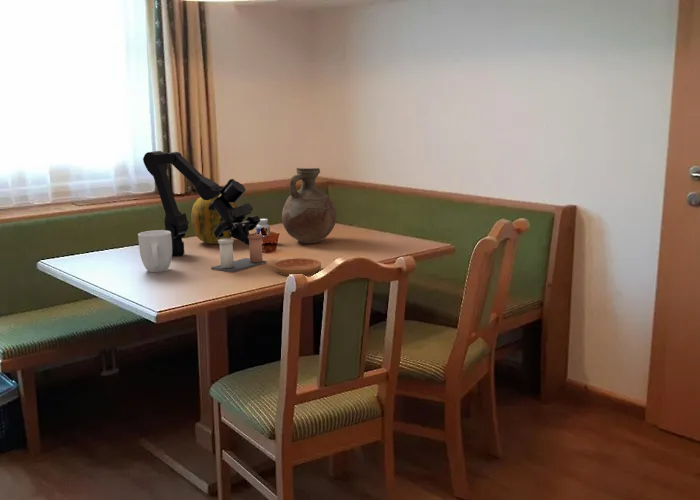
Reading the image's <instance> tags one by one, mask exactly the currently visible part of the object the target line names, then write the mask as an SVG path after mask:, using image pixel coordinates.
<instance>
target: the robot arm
mask: <svg viewBox="0 0 700 500" xmlns="http://www.w3.org/2000/svg"><path fill="white" fill-rule="evenodd" d="M142 161H143V164H144V167H145V168H146V170H147V173H148V172H149V174H150V175H151V176H152V177H153V179H154V182H155V186H156V190H157V192H158V195H159V198H160V201H161V204H162V209H163V210H164V214H165V215H164V221H163V223H164V228H165V229H164V230H166V231H170V232H171V238H172V257H183V256H184V254H185V242H184V241H183V238H185V237H186V232H187V231H188V229H189V224H190V221H188V218H187V214H186V213H185V212H184V213H182V212H181V211H180V209H178V205H177V201H176V198H175V196H174V193H173V189H172V185H171V183H170V180H169V177H168V174H167V172H168V164H170V165H172V166H173V167H174V168H175V169H176V170H177V171H178V172H179V173H181V174H182V175H183V176H184V177H185V178H186V179H187V180H188V182H190V183H191V184H192V185H193V187H194V189H195V192H196V193H197V195H198V196H199V198H200V197H201V198H202V199H203V200H211V199H214V198H216V199H215V200H214V201H213V202H210V203H209V208H208V209H209V210H216V211H217V212H218V214H219V215H220V217H221V218H220V221H221V222H222V221H224V222H222V223H219V225H218V226H217V228H216V229H215V230H214V235H215V236H216V237H217V238H221V237H223V235H224V234H223V232H226V231H230V233H231V234H230V235H229V237H231V238H232V239H235V240H236V241H237V240H238V241H239V242H241V243H243V244H245V245H247V246H249V239H248V235H249V234H250V231H253V230H255V229H256V226H257V225H258V223H259V222H260V219H261V218H260V217H259V216H258V215H251V213H252V211H253V206H252V205H251V203H249V202H247V203H244V204H243V205H239V206H237V207H236V208H234V207H233V206H232V205H231V202H233V203H237V201H238V200H239V199H240V198H241V197H242V196H243V195H244V193H246V188H245V186H244V185H243V184H242V183H240V182H238V181H237V180H235V179H234V178H230V179H229V180H227V183H226V184H225V186H220V185H219V184H218V183H217V182H215V181H214V180H212V179H210V178H208V177H206V176H204V175H203V174H202V173H201V172H200V171H199V170H198V169H196V168H195V167H194V165H192V164H191V163H190V162H189V161H188V160H187V159H186V158H185V157H183V155H182V153H181V152H179V151H173V152H164V151H162V150H154V151H148V152H146V153H145V154H144V156H143V157H142ZM219 195H221V196H220V197H218V196H219ZM247 215H250V216H248V217H247V218H246V216H247Z"/></svg>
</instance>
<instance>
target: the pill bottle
mask: <svg viewBox="0 0 700 500" xmlns="http://www.w3.org/2000/svg"><path fill="white" fill-rule="evenodd" d="M259 219H260V222H259V223H258V224H257V225H256V227H255V229H256V233H255V234H257V233H260V231H261V228H263V227H265V228H267V230H268V231H269V232H270V233H271V230H270V229H271V226H270V225H269V224H268V223H269V221H268V218H259Z"/></svg>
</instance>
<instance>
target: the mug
mask: <svg viewBox="0 0 700 500" xmlns="http://www.w3.org/2000/svg"><path fill="white" fill-rule="evenodd" d="M137 237H138V238H137V239H138V249H139V254H140V258H141V261H142V264H143V266H144V268H145V269H146V270H147V272H149V273H161V272H166V271H167V270H168V269H169V267H170V265H171V262H172V257H173V256H172V238H171V232H170V231H166V230H165V229H160V230H159V229H157V230H155V229H154V230H146V231H141V232H139V233H137Z"/></svg>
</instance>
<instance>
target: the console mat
mask: <svg viewBox="0 0 700 500" xmlns="http://www.w3.org/2000/svg"><path fill="white" fill-rule="evenodd" d="M233 261H234V267H231V268H221V264H218V265H215V266H210V268H211V270H215V271H220V272H225V273H226V272H227V273H231V272H233V273H235V271H236V272H239V271H238V270H240V271H243V270H245V269H249V267H250V268H253V267H257V266H260V265H263V264H266V263H267V261H266V260H263V261H262V262H250V257H244V258H241V259H237V260H233ZM265 262H266V263H265ZM262 263H263V264H262ZM256 265H257V266H256Z"/></svg>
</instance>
